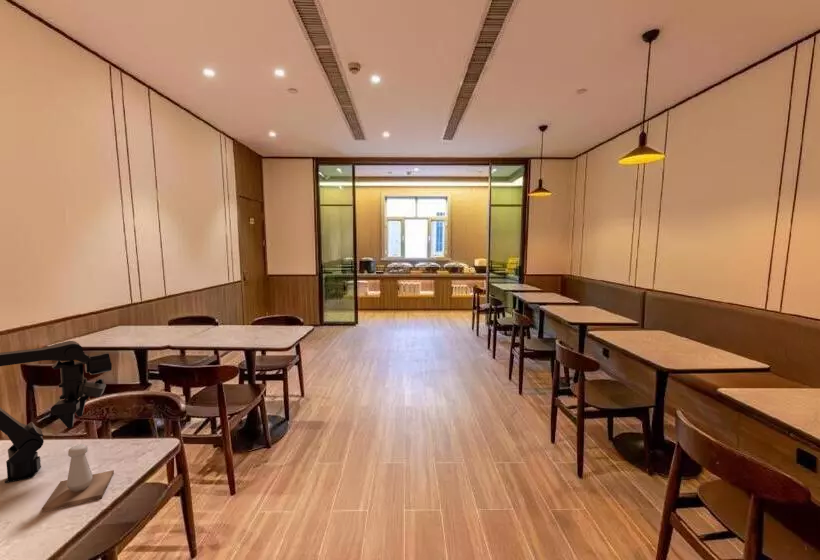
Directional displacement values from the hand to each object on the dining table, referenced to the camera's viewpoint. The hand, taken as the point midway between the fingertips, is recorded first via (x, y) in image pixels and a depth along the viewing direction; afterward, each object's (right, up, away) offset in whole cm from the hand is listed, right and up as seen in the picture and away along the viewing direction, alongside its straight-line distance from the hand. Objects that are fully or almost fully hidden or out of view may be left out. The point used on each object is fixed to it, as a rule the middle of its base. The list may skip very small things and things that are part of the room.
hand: (75, 422), depth 125 cm
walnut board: (+17, -15, -16) cm, 27 cm away
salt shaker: (+16, -14, -16) cm, 27 cm away
